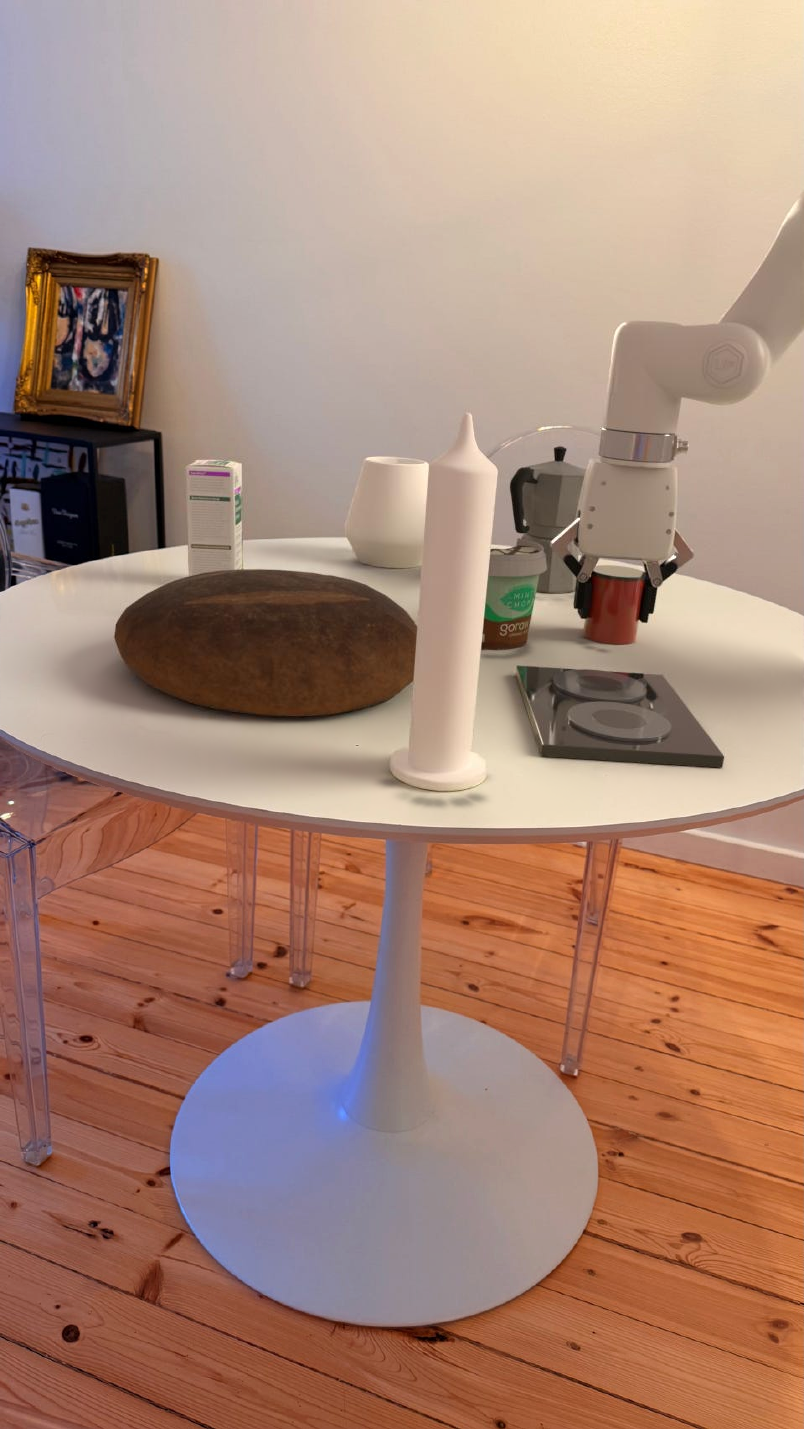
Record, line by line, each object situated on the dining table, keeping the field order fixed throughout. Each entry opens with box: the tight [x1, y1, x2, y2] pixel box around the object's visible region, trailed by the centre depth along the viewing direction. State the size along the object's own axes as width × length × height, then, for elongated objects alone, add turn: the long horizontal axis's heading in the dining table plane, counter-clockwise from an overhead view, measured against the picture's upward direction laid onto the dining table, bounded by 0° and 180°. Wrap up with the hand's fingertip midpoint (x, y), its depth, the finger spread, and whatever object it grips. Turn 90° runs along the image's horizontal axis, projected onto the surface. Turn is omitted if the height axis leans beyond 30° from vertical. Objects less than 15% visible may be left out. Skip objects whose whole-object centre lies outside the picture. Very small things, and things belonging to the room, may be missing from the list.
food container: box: [481, 537, 547, 651], centre depth 103 cm, size 12×6×10 cm, turn 143°
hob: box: [515, 665, 725, 769], centre depth 85 cm, size 14×20×1 cm
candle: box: [389, 412, 499, 792], centre depth 67 cm, size 7×7×25 cm
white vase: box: [344, 456, 430, 569], centre depth 138 cm, size 13×13×14 cm
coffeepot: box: [509, 445, 587, 594], centre depth 128 cm, size 15×9×18 cm, turn 134°
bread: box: [113, 568, 417, 717], centre depth 90 cm, size 28×27×9 cm
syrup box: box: [185, 459, 244, 576], centre depth 119 cm, size 6×6×14 cm
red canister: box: [582, 564, 647, 645], centre depth 108 cm, size 6×6×7 cm
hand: (612, 616), depth 109 cm, fingers closed on red canister, 5 cm apart
